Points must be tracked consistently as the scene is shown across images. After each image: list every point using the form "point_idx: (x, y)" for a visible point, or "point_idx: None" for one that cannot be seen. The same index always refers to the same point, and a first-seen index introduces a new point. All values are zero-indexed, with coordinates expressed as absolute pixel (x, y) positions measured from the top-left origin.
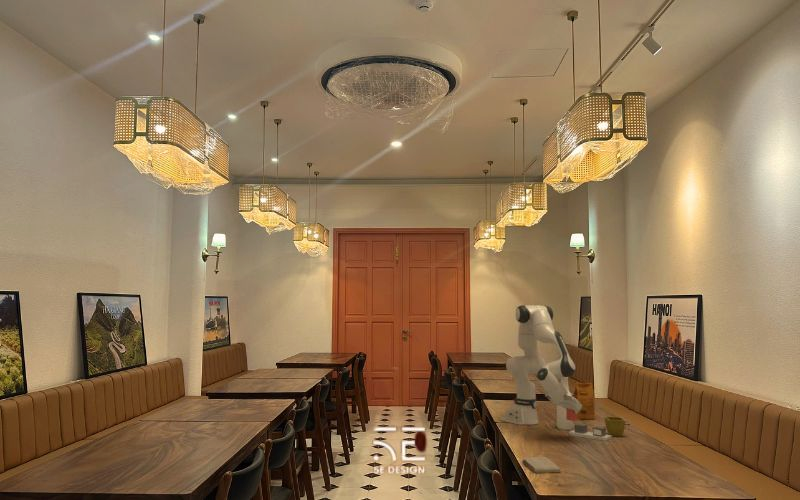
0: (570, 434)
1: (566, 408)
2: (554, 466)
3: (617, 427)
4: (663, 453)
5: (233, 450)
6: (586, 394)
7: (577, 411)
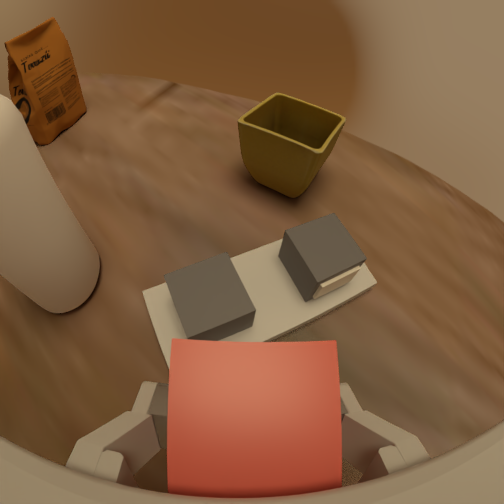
0: None
1: (152, 446)
2: None
3: (324, 160)
4: (500, 240)
5: None
6: (47, 56)
7: (345, 394)
